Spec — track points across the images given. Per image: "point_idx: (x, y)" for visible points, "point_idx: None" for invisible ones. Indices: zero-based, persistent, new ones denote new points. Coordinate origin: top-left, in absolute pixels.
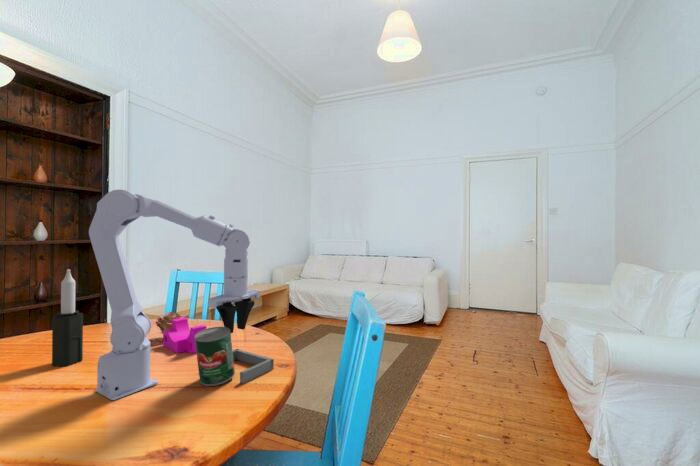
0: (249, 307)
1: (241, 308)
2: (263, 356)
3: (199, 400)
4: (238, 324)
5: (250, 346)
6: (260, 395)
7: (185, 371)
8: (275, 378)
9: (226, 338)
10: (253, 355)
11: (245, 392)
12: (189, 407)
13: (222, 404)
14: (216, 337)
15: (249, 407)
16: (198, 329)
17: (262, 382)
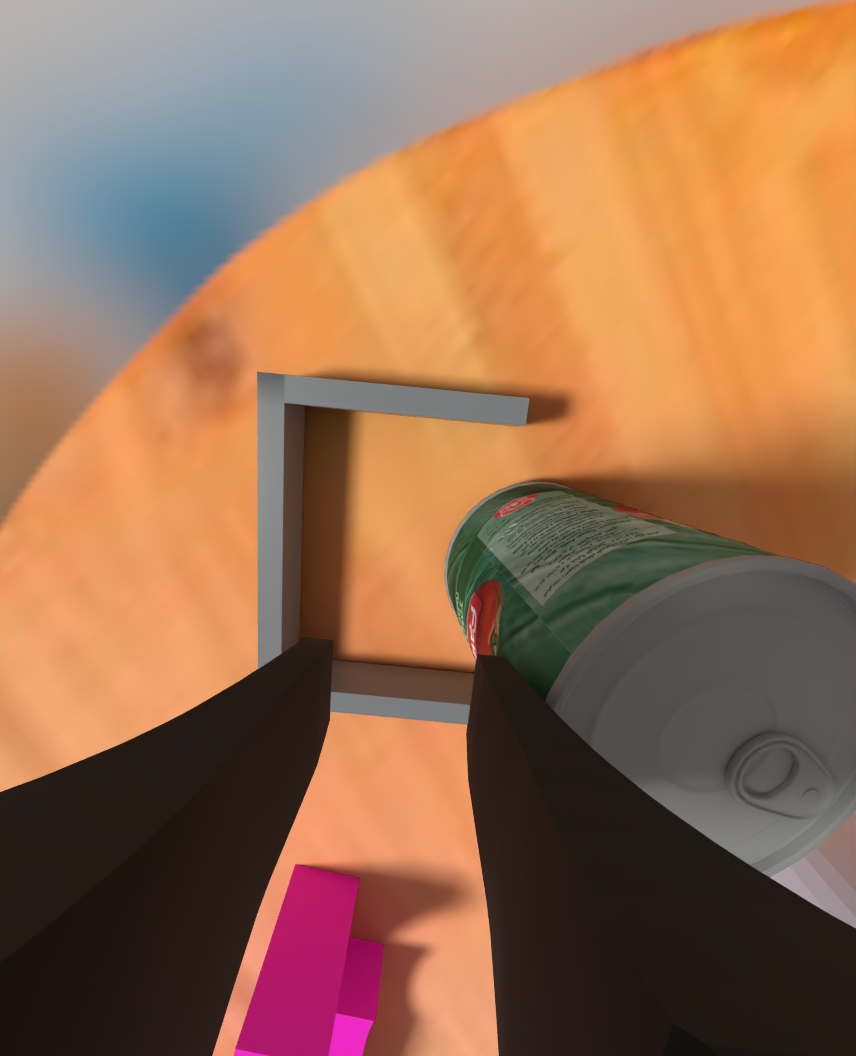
0: (42, 840)
1: (178, 983)
2: (259, 470)
3: (740, 464)
4: (318, 741)
5: (115, 724)
6: (589, 203)
7: None
8: (378, 275)
9: (706, 549)
10: (282, 540)
11: (591, 312)
12: (810, 451)
13: (739, 326)
14: (787, 632)
15: (723, 159)
16: (296, 1042)
17: (455, 311)
